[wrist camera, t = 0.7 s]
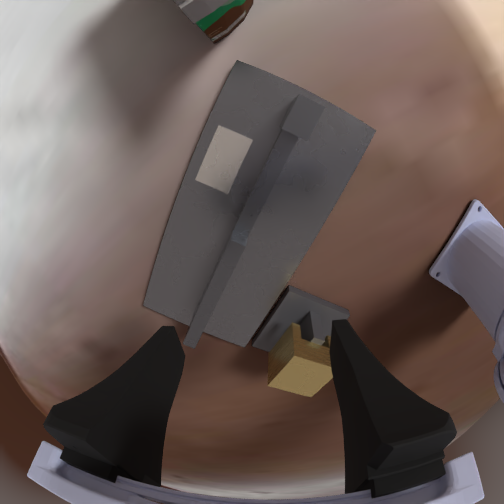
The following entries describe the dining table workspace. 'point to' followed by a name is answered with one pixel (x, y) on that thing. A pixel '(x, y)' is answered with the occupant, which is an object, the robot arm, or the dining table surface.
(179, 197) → the rail
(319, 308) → the grey finned base plate
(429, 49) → the dining table surface
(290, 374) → the clip
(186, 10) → the food container
